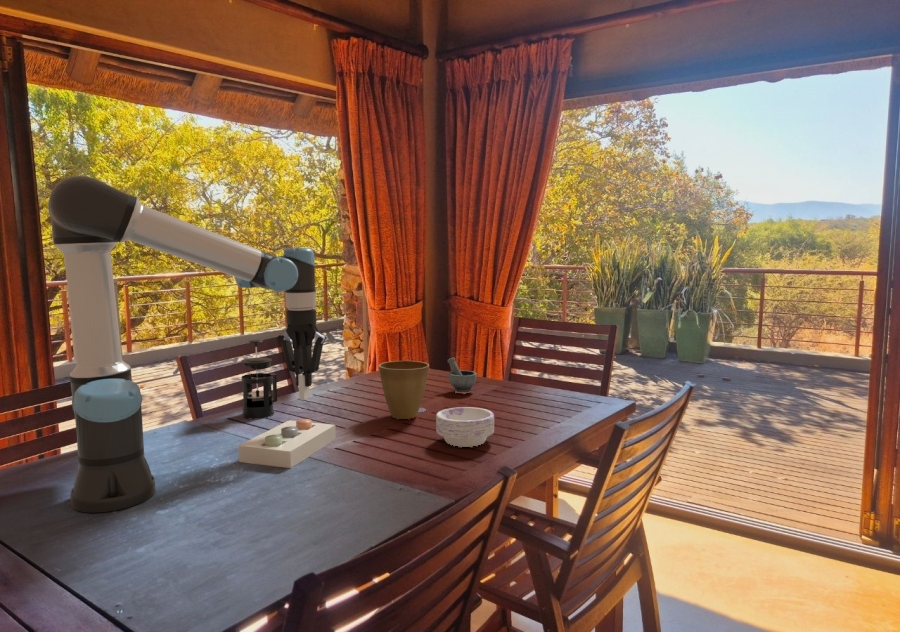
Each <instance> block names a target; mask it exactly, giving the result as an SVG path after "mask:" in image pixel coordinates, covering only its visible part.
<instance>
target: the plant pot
mask: <svg viewBox="0 0 900 632" xmlns="http://www.w3.org/2000/svg"><path fill="white" fill-rule="evenodd" d="M429 367H430V364H429V363H427V362H423V361H418V360H416V361H415V360H394V361H393V360H392V361H386V362H382V363H380V364H378V369H379V375H380V379H381V380H380V382H381V386H382V390H383V394H384V398H385V401H386V404H387V405H386V406H387V408H388V411H389V413H390V416H391V418H392V417H393V419H394V418H396V419H395V420H399V419H408V420H410V419H409V418H413V417H415V418H416V417H417V415H418V413H419V410H420V408H421V404H422V401H423V398H424V395H425V389H426V384H427V381H428V374H429ZM413 419H414V418H413Z"/></svg>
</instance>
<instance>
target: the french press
mask: <svg viewBox="0 0 900 632" xmlns="http://www.w3.org/2000/svg"><path fill="white" fill-rule="evenodd" d="M263 342H264V340H262V339H252V340H251V339H250V340H249V341H248V343H251V344H253V345H254V346H253V347H255V357H251V358H245V359H241V360H240V363H241V364H242V367H243V368H245V367H250V368H251V369H253V370H255V372H254V373H248V374H247V373H246V374H244V375H242V376H241V383H242V396H243V397H242V402H243V404H242V413H241V416H242V418H244V419H248V418H252V419H251V420H255V419H254V418H260V419H265V418H264V417H266V418H269V417H268V416H270V417H272V416H273V414H274V415H275V411H274V403H276V402H278V387H277V386H278V385H277V384H278V383H277V382H278V381H277V379H278V378H277V374H276V373H272V372H271V373H266V372H265V373H264V372H259V371H258V370H260V371H261V370H266V369H269V368H272V367H271V366H272V365H271V363H272V361H273V359H272V358H269V357H258V347H259V345H258V343H263ZM252 384H254V385H255V384H256V390H255V391H253V388H252V387H253V385H252ZM259 384H262V385H263V386H262V388H263V389H262V390H259ZM271 415H272V416H271Z"/></svg>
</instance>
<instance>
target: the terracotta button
mask: <svg viewBox="0 0 900 632" xmlns="http://www.w3.org/2000/svg"><path fill="white" fill-rule="evenodd" d="M295 421H296V427H297V428H298V429H302V430H308V429H310V428H312V423H313V421H312V419H309V418H301V419H297V420H295Z"/></svg>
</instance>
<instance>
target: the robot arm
mask: <svg viewBox="0 0 900 632" xmlns="http://www.w3.org/2000/svg"><path fill="white" fill-rule="evenodd" d="M47 209H48V213H49V216H50V223H51V230H52V231H51V233H52V238H53V239H52V240H53V241H52V242H53V246H54V247H55V248H57V249H58V250H59V251H61V253H62V254H63V258H64V259H63V260H64V266H65V267H64V269H65V276H66V284H67V292H68V300H69V308H70V319H71V326H72V327H71V328H72V335H73V345H74V351H75V352H74V353H75V360H76V365H75V367H74V368H73V370H72V371H70V373H69V379H70V380H69V381H70V388H71V397H72V399H71V407H72V411H73V413H74V415H73V416H74V421H75V432H76V434H75V435H76V445H77V460H78V467H77V470H76V471H77V472H76V475H75V479H74V484H73V488H71V491H70V495H69V497H70V499H69V500H70V507H71V508H72V509H73V510H75V511H78V512H80V513H89V514H90V513H92V514H93V513H107V512H114V511H119V510H123V509H127V508H132V507H134V506H136V505H139V504H141V503H144V502H146V501H147V500H149V499H150V498H152V497H153V496H154V494H155V493H156V491H157V489H156V480H155V476H154V475H153V474H152V471H151V469H150V465H149V463H148V461H147V459H146V457H145V447H144V445H145V443H144V429H143V413H142V412H143V411H142V410H143V409H142V408H143V407H142V403H143V396H142V393H141V388H140V385H139V384H137V383H136V382H135V381H133V375H132V368H131V367H132V366H131V365H130V364H128V363H127V362H125V361H124V360H123V355H122V347H121V337H120V329H119V328H120V327H119V318H118V311H117V310H118V308H117V302H116V300H117V299H116V290H115V282H114V280H115V279H114V274H113V273H114V271H113V263H112V255H111V253H112V250H113V249H114V248H115V247H116V246H117V245H118V243H120V244H122V243H125V242H128V241H130V242H132V243H136V244H139V245H141V246H145V247H147V248H151V249H153V250H157V251H158V252H162V253H165V254H168V255H170V256H173V257H176V258H179V259H182V260H185V261H188V262H189V263H193V264H196V265H199V266H202V267H206V268H209V269H211V270H215V271H217V272H219V273H223V274H226V275H229V276H231V277H234V280H235V283H236V285H237V286H238V287H239V288H241V289H253V288H255V289H257V288H260V289H267V290H272V291H274V292H278V293H281V292H285V308H287V309H286V311H285V314H286V316H285V318H286V319H285V320H286V321H285V322H286V324H287V326H286V329H285V332H284V333H283V334H280V335H278V340H279V342H280V343H281V347H282V350H283V353H284V354H283V355H284V358H285V361H286V365H287V370H288V371H289V372H292V373H294V374H295V385H296V387H298V399H299V400H301V401H302V400H303V401H305V400H307V399H309V398H310V396H311V395H310V386H311V387H312V384H313V381H312V380H313V379H312V374H313V373H315V372H317V371H319V368H320V364H321V363H320V362H321V357H322V353H323V346H324V344H325V342H326V340H327V336H326V335H324V334H321V333H320V332H319V330H318V328H317V309H316V308H315V307H316V306H317V302H316V301H317V297H316V296H317V295H316V264H315V263H316V262H315V253H314V251H313V250H312V249H311V248H309V247H307V248H306V247H300V248H299V247H298V248H297V247H295V248H294V247H293V248H292V247H291V248H285V249H284V250H283V254H282V255H281V256H279V255H278V256H277V255H274V254H271V253H270V252H266V251H263V250H260V249H259V248H255V247H253V246H251V245H248V244H245V243H243V242H240V241H237V240H235V239H232V238H230V237H227V236H225V235H222V234H219V233H216V232H213V231H211V230H208V229H206V228H203V227H201V226H198V225H196V224H193V223H190V222H188V221H185V220H183V219H180V218H178V217H175V216H172V215H169V214H166V213H164V212H162V211H159V210H157V209H154V208H151V207H148V206H146V205H144V204H142V202H141V200H140V199H139V197H136V196H134V195H132V194H129V193H126V192H125V191H122V190H120V189H118V188H115V187H113V186H112V185H109V184H107V183H106V182H104V181H102V180H99V179H97V178H94V177H91V176H86V175H73V176H69V177H67V178H66V177H65V178H64V179H62V180H60V181H58V183H57V184H56V185H55V186H54V187H53V188H52V190H51V192H50V195H49V199H48V204H47ZM313 341H314V346H313ZM312 347H313V351H312Z"/></svg>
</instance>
